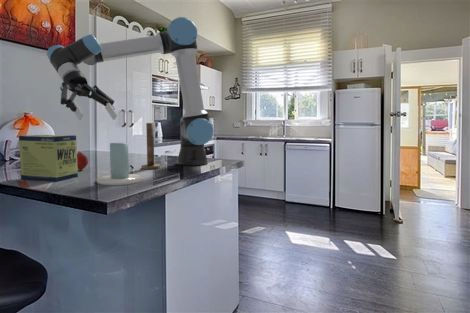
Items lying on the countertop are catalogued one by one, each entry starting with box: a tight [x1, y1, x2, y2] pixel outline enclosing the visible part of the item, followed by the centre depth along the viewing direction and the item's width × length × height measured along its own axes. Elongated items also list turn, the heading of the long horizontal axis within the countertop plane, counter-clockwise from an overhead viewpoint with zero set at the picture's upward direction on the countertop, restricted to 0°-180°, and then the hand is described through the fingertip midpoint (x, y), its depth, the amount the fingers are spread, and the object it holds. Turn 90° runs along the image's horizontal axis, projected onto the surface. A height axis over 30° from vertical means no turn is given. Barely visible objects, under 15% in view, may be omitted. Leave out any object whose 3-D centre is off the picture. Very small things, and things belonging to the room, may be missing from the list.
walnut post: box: [141, 122, 161, 170], centre depth 140 cm, size 8×8×20 cm
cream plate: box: [96, 173, 144, 186], centre depth 110 cm, size 15×15×1 cm
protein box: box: [18, 134, 79, 183], centre depth 114 cm, size 10×16×16 cm
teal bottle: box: [109, 142, 130, 179], centre depth 110 cm, size 6×6×12 cm
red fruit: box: [77, 150, 89, 171], centre depth 133 cm, size 6×6×8 cm
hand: (99, 117), depth 114 cm, fingers open, 13 cm apart
